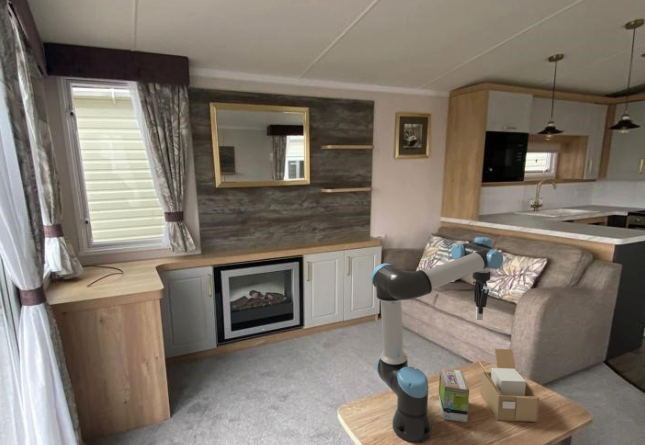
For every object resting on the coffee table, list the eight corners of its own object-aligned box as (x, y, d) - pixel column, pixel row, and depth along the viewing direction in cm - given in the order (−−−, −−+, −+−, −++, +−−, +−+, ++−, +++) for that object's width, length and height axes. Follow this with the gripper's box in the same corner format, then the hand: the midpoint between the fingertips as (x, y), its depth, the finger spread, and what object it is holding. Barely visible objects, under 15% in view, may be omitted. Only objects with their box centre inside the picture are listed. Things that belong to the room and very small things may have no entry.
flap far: (498, 372, 157) (497, 372, 158) (516, 372, 157) (515, 372, 157) (494, 348, 161) (494, 348, 162) (512, 349, 161) (511, 349, 161)
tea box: (468, 422, 141) (469, 389, 139) (442, 419, 143) (444, 386, 141) (461, 400, 156) (462, 369, 154) (438, 397, 158) (439, 367, 156)
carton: (497, 421, 142) (499, 388, 140) (480, 393, 160) (482, 364, 158) (539, 423, 141) (541, 389, 139) (516, 395, 159) (519, 365, 157)
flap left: (498, 391, 143) (498, 392, 143) (490, 379, 152) (489, 379, 152) (487, 371, 142) (486, 372, 142) (479, 360, 151) (478, 361, 151)
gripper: (496, 274, 151) (493, 325, 154) (484, 267, 164) (481, 314, 167) (478, 274, 152) (476, 325, 155) (468, 266, 165) (466, 313, 168)
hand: (479, 319), depth 161 cm, fingers closed
